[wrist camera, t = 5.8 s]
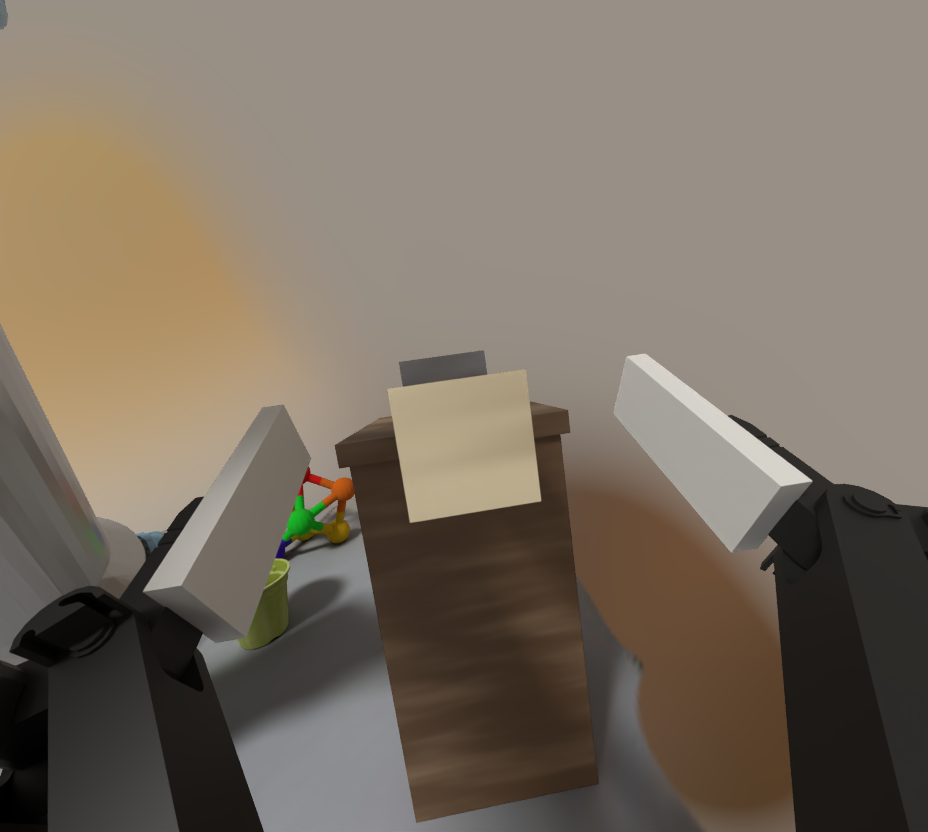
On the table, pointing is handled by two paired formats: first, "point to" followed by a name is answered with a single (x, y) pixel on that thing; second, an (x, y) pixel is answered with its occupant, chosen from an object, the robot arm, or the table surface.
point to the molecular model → (303, 520)
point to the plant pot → (270, 609)
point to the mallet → (463, 437)
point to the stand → (478, 632)
